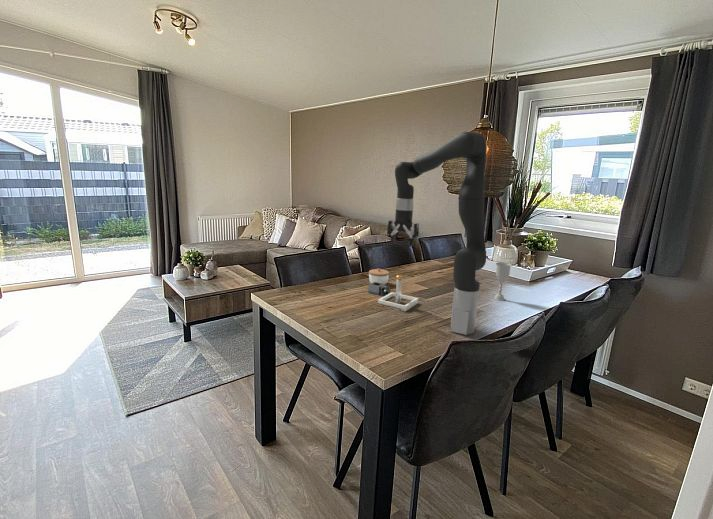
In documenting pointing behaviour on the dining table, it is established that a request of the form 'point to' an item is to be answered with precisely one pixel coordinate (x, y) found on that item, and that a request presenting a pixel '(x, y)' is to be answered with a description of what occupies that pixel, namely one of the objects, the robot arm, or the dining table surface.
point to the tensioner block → (378, 289)
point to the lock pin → (398, 288)
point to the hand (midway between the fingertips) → (401, 245)
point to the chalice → (502, 277)
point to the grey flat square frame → (402, 307)
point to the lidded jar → (378, 275)
